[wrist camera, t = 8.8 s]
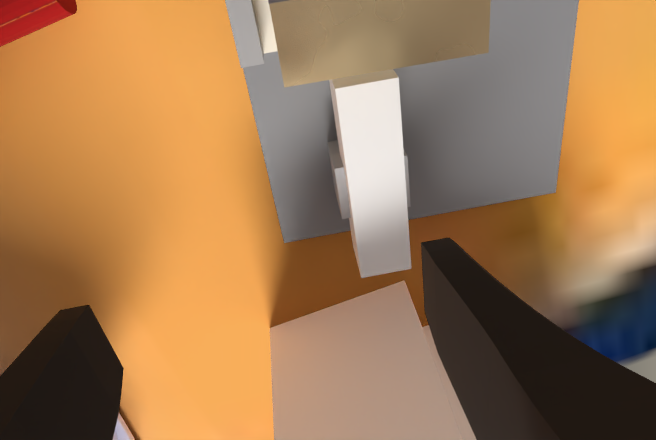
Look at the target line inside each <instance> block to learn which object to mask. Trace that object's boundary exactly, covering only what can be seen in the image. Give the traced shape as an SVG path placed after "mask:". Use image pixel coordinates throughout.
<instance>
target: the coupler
mask: <svg viewBox="0 0 656 440" xmlns="http://www.w3.org/2000/svg"><path fill="white" fill-rule="evenodd" d="M268 3H269V7H270V12H271V18H272V23H273V28H274V34H275V39H276V45H277V50H278V55H279V61H280V66H281V72H282V77H283V83H284V88H285V87H290V86H296V85H302V84H308V83H314V82H320V81H326V80H332V79H337V78H343V77H349V76H355V75H361V74H367V73H373V72H378V71H384V70H390V69H396V68H402V67H408V66H414V65H420V64H425V63H431V62H437V61H443V60H449V59H455V58H461V57H466V56H472V55H478V54H484V53H489V30H490V5H491V0H268Z"/></svg>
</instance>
